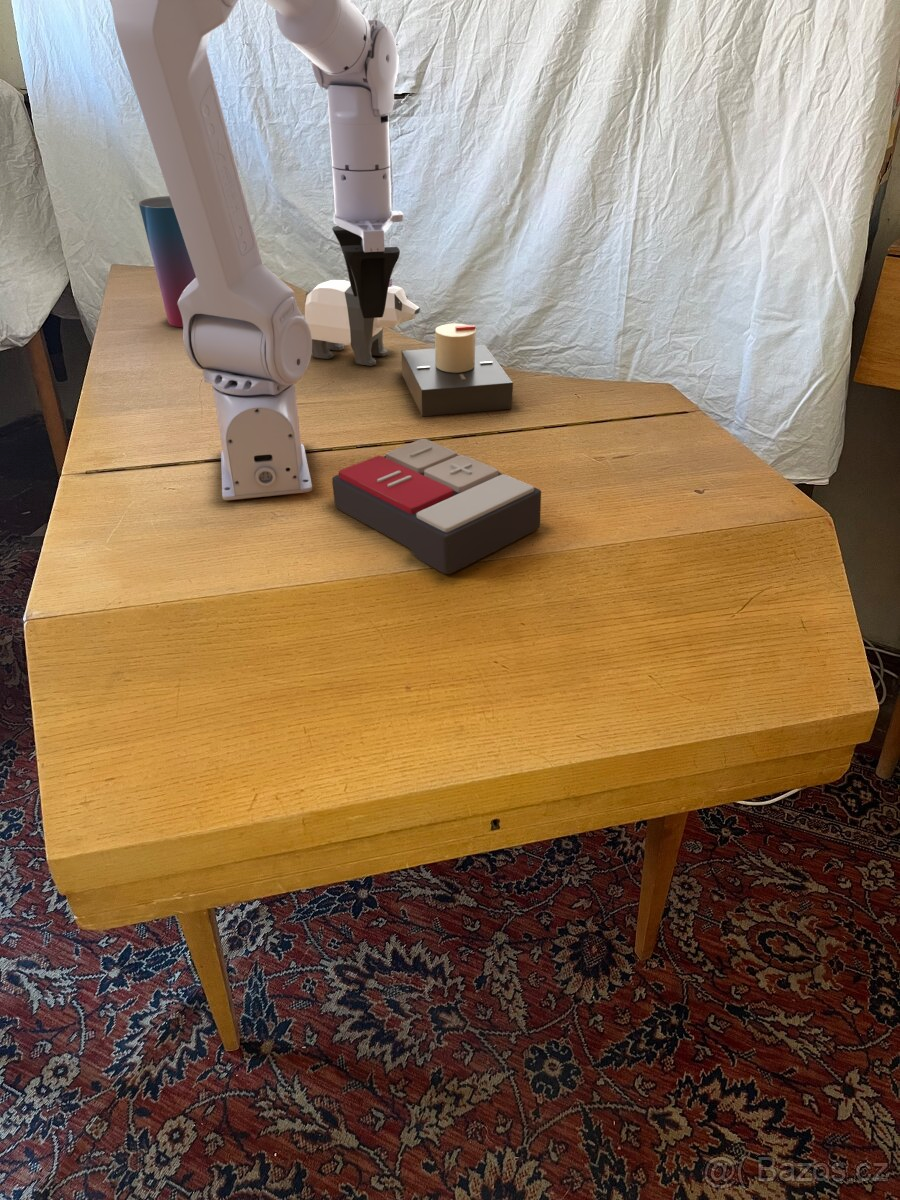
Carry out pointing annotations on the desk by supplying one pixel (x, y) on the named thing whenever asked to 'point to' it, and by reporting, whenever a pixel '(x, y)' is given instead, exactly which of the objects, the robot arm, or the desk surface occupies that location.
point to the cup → (167, 253)
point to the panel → (456, 384)
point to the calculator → (438, 503)
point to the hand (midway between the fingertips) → (367, 305)
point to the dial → (455, 347)
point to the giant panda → (352, 320)
